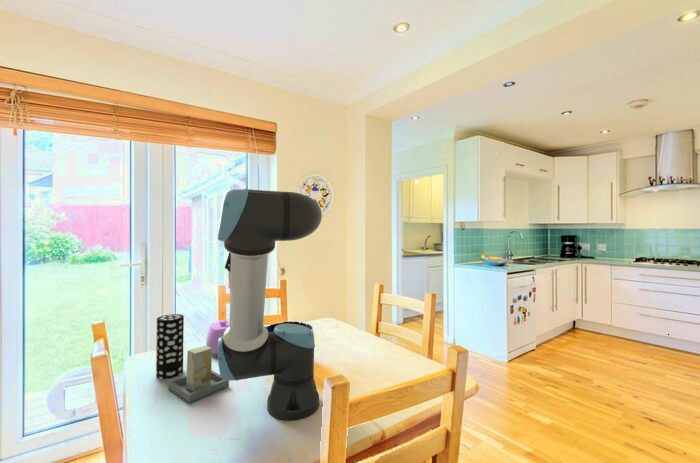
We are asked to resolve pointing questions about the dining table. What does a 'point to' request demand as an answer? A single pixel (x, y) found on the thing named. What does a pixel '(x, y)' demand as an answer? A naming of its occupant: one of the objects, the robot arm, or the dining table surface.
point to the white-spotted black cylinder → (169, 346)
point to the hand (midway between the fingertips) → (242, 290)
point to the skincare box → (199, 368)
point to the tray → (181, 391)
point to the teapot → (216, 334)
